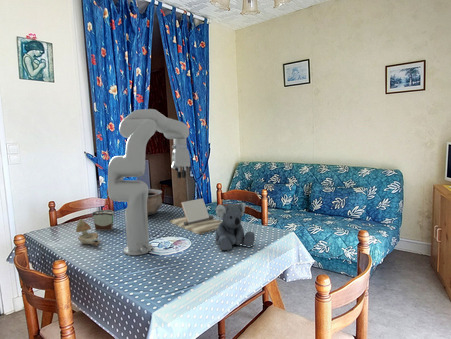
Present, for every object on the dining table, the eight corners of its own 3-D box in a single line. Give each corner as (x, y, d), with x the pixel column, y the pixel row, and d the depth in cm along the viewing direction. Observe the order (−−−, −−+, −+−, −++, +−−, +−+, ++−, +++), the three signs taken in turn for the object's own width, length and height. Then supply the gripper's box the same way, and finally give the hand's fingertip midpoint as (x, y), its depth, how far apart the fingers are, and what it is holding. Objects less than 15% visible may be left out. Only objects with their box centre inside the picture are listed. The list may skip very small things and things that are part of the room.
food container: (119, 226, 177) (118, 209, 176) (114, 230, 171) (113, 212, 170) (98, 226, 178) (97, 209, 177) (92, 230, 172) (91, 212, 171)
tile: (208, 219, 182) (209, 218, 181) (188, 224, 173) (189, 223, 172) (201, 199, 185) (202, 198, 184) (181, 203, 177) (182, 202, 176)
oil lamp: (90, 235, 163) (88, 217, 162) (106, 246, 147) (105, 225, 146) (72, 240, 157) (71, 220, 156) (87, 251, 141) (86, 229, 140)
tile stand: (229, 226, 172) (229, 218, 171) (199, 234, 160) (198, 226, 159) (198, 216, 195) (198, 209, 195) (170, 222, 183) (170, 215, 182)
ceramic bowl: (153, 208, 217) (152, 187, 215) (169, 214, 201) (168, 191, 199) (122, 214, 203) (120, 192, 202) (136, 221, 187) (135, 196, 185)
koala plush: (221, 253, 134) (219, 209, 132) (207, 240, 151) (206, 200, 148) (257, 247, 141) (256, 204, 138) (240, 235, 157) (239, 197, 155)
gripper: (171, 148, 177) (172, 180, 180) (195, 146, 187) (196, 177, 190) (165, 147, 183) (166, 178, 186) (188, 146, 193) (189, 175, 195)
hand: (181, 177), depth 188 cm, fingers closed
